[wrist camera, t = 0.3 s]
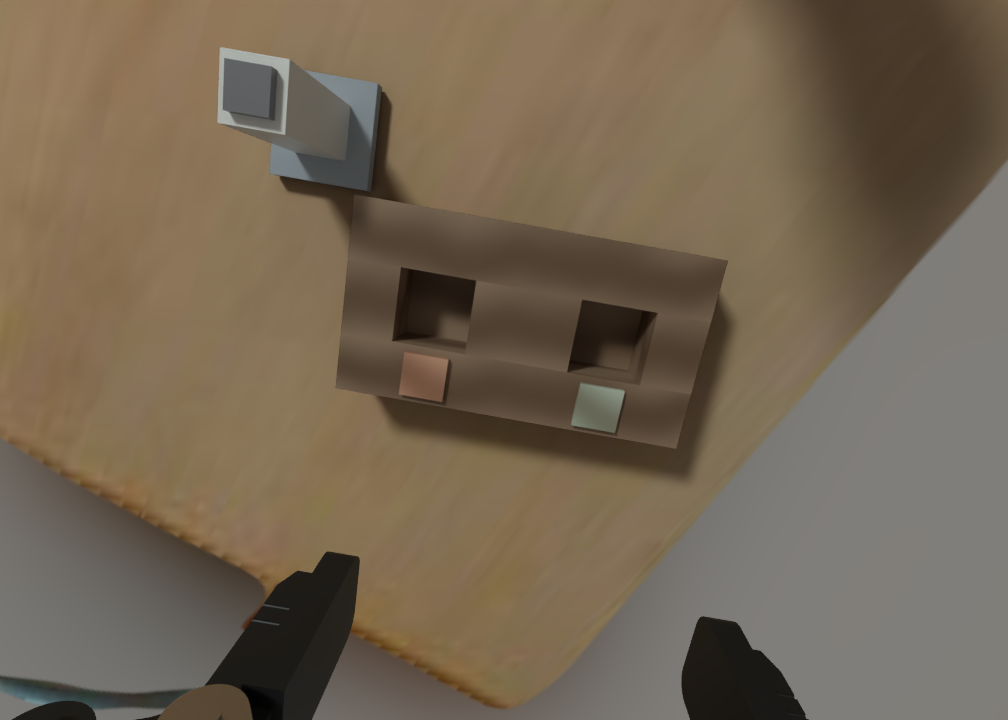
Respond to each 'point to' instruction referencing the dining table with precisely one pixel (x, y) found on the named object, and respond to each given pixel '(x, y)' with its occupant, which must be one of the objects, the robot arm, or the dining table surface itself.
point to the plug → (281, 104)
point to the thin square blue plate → (359, 142)
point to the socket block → (523, 321)
